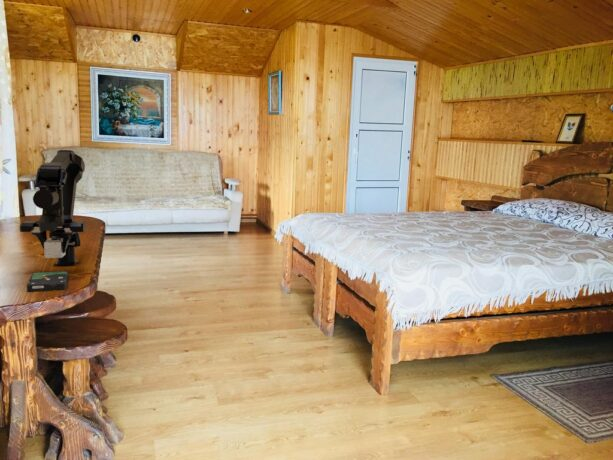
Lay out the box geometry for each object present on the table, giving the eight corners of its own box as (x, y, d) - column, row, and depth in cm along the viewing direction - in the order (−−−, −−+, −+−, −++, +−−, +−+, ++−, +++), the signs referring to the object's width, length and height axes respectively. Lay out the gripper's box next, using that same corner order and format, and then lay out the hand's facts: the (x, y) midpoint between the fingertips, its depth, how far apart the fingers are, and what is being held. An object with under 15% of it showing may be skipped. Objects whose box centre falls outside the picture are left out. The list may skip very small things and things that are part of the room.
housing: (49, 254, 176) (48, 235, 175) (65, 254, 177) (64, 235, 176) (44, 257, 171) (43, 238, 170) (61, 257, 172) (60, 238, 171)
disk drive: (66, 292, 157) (69, 278, 171) (66, 282, 157) (69, 270, 170) (26, 294, 154) (32, 280, 167) (26, 284, 153) (32, 271, 167)
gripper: (12, 207, 162) (15, 258, 165) (78, 208, 165) (80, 258, 168) (24, 203, 173) (27, 251, 176) (86, 203, 176) (87, 250, 179)
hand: (55, 252), depth 174 cm, fingers closed on housing, 5 cm apart
